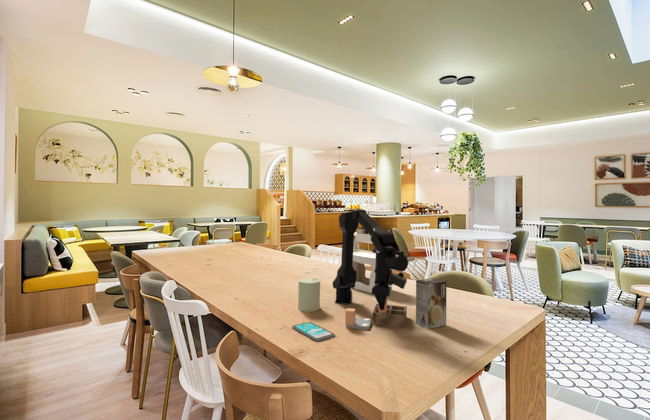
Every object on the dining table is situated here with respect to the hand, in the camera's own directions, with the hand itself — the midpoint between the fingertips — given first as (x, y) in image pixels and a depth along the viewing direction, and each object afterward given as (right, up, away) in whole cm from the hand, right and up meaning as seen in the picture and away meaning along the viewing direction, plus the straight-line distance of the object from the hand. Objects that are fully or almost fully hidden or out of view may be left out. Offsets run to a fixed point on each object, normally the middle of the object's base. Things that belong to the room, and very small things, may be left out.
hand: (382, 308), depth 121 cm
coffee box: (+17, -6, -2) cm, 18 cm away
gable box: (+1, -5, +50) cm, 50 cm away
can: (-28, -5, +15) cm, 32 cm away
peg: (0, -2, 0) cm, 2 cm away
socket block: (+3, -5, +2) cm, 6 cm away
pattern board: (-9, -5, -3) cm, 11 cm away
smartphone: (-25, -5, -10) cm, 28 cm away
